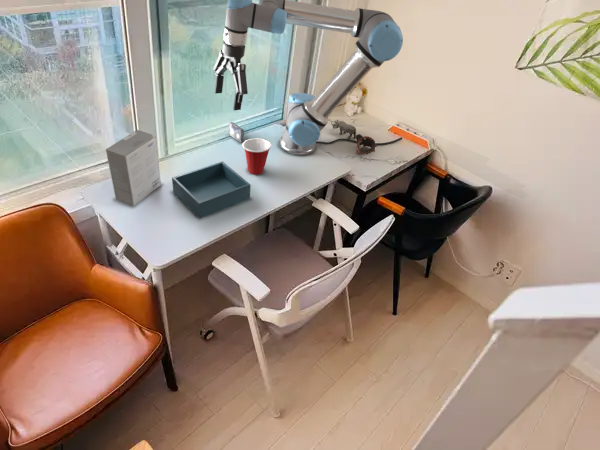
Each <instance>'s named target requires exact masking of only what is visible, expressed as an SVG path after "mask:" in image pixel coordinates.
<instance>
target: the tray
mask: <svg viewBox="0 0 600 450" xmlns="http://www.w3.org/2000/svg"><path fill="white" fill-rule="evenodd" d="M171 181H172V193H173V195H175V196H176V197H177V198H178V199H179V200H180V201H181V202H182V203H183V204H184V205H186V207H187V208H188V209H189V210H190V211H191V212H192V213H193V214H194V215H195V216H196V217H197V218H198V219H202V218H205V217H207V216H210V215H213V214H215V213H218V212H220V211H224V210H225V209H228V208H230V207H233V206H235V205H238V204H241V203H243V202H246V201H248V200H250V199H251V183H249V182H248V181H247V180H246V179H244V177H243V176H241V175H240V174H238V173H237V172H236V171H235V170H234V169H233V168H231V167H230V166H229V165H228V164H226V163H225V162H224V161H220V162H219V161H218V162H215V163H213V164H210V165H207V166H204V167H200V168H198V169H195V170H194V169H193V170H191V171H189V172H185V173H182V174H179V175H176V176H173V177H171Z"/></svg>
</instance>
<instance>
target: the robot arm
mask: <svg viewBox="0 0 600 450" xmlns="http://www.w3.org/2000/svg"><path fill="white" fill-rule="evenodd" d="M225 11H226V12H225V21H224V22H225V23H224V32H223V40H224V41H222V48H221V49H220V50H219V53H218V54H219V55H218V57H217V59H216V61H215V62H214V63H215V64H214V66H213V67H212V71H213V72H215V73H214V75H215V86H214V94H222V93H223V87H224V80H225V79H224V78H225V76H224V75H225V72H227V70H229V72H230V74H231V75H232V78H233V81H234V82H233V83H234V86H235V90H236V92H235V93H234V99H233V108H232V110H233V111H234V112H235V111H241V110H242V102H243V99H244V95H248V91H249V90H248V84H247V73H246V71H247V65H246V63H242V62H241V59H242V58H244V57H245V51H246V44H247V38H248V31H249V30H248V29H249V28H250V29H253V30H258V31H262V32H266V33H270V34H278V35H282V34H284V32H285V29H286V25H287V24H288V25H295V26H299V27H300V26H301V27H307V28H312V29H320V30H326V31H333V32H338V33H339V32H340V33H345V34H350V36H351V37H352V38H357V41H356V42H355V43H354V51H353V52H352V53H351V54H350V56H349V57H348V58H347V59H346V60H345V61H344V62H343V64H342V65H341V66H340V67H339V68H338V69H337V71H336V72H335V73H334V74H333V75H332V76H331V78H330V79H329V80H328V81H327V82H326V84H324V86H323V87H322V88H321V89H320V90H319V91H318V92H317V93H316V95H313V94H310V93H307V92H306V93H305V92H294V93H291V94H290V95H289V96H288V100H287V102H288V103H287V111H286V112H287V113H286V121H285V129H284V131H283V133H282V136H281V137H280V140H279V147H280V148H281V150H282V151H284V152H286V153H288V154H289V155H295V156H307V155H310V154H312V153H314V151H315V149H316V144H317V145H332V144H335V143H337V142H349V143H355V144H357V143H358V142H357V140H356V139H352V138H351V139H348V138H343V137H341V138H336V139H334V140H332V141H331V140H330V141H320V140H319V139H320V136H321V131H322V130H323V129H324V128H325V127H326V126H327V124H328V123H329V116H330V115H332V113H333V112H334V111H335V110H336V109H337V108H338V107H339V106H340V105H341V103H342V102H343V101H344V100H345V99H346V97H347V96H348V95H349V94H350V93H351V92H352V91H353V90H354V89H355V88H356V87H357V86H358V85H359V83H361V82H362V80H364V78H365V77H366V76H367V75H368V73H369V72H370V71H372V69H373V68H374V69H376V68H380V67H381V66H382V65H383V64H384V63H385V62H388V61H391V60H393V59H395V58H396V57H397V56H398V55H399V53H400V51H401V49H402V47H403V42H404V35H403V32H402V30H401V28H400V26H399V25H398V24H397V23H396V21H395V20H394V18H393V17H392V16H391V15H390V14H389V13H387V12H385V11H381V10H374V9H367V8H361V7H360V8H359V7H357V8H355V9H354V10H353V9H346V8H341V7H334V6H328V5H321V4H315V3H308V2H304V1H303V2H302V1H295V0H259V1H258V3H256V2H253V0H227V4H226V10H225ZM401 140H403V137H402V136H400V137H398V138H397V139H394V140H391V141H386V142H375V143H376V145H377V146H386V145H391V144H395V143H398V142H399V141H401ZM362 145H363V143H362Z"/></svg>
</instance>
